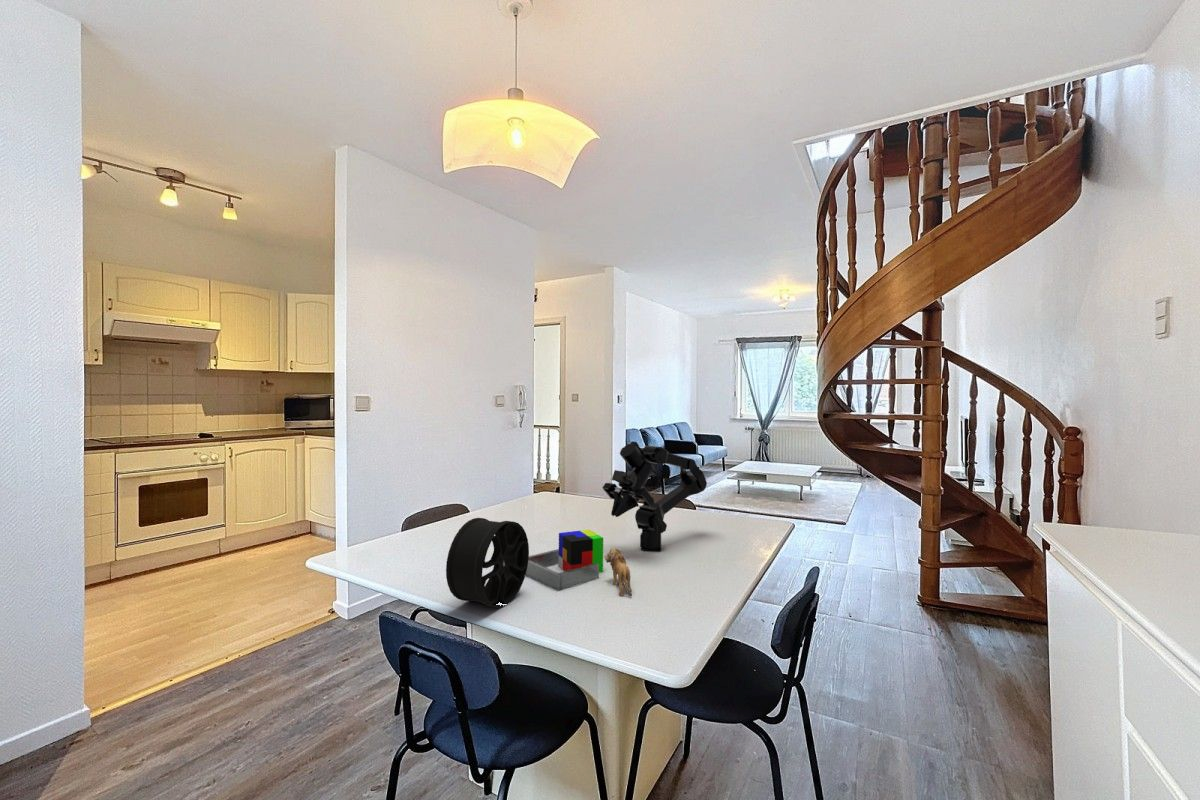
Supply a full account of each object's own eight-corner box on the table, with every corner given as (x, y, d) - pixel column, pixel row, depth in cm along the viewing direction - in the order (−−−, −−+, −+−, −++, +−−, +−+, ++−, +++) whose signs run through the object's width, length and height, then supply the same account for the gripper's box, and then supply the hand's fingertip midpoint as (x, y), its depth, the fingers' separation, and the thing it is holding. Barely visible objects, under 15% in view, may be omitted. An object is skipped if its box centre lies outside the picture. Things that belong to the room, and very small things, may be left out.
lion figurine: (602, 579, 140) (602, 547, 140) (620, 577, 141) (620, 545, 141) (622, 599, 126) (622, 563, 126) (642, 596, 127) (642, 561, 127)
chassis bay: (558, 561, 154) (558, 548, 154) (598, 578, 141) (598, 563, 141) (519, 572, 145) (519, 558, 145) (558, 590, 131) (558, 575, 131)
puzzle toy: (558, 566, 150) (558, 532, 150) (589, 561, 155) (589, 529, 155) (570, 577, 141) (571, 541, 141) (603, 572, 146) (603, 537, 146)
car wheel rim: (481, 621, 113) (481, 532, 113) (445, 613, 117) (446, 527, 117) (528, 590, 131) (529, 514, 131) (496, 584, 135) (496, 510, 135)
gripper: (606, 458, 168) (581, 495, 160) (648, 463, 154) (621, 504, 146) (623, 479, 173) (599, 516, 166) (664, 486, 159) (640, 527, 152)
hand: (614, 515), depth 157 cm, fingers closed
